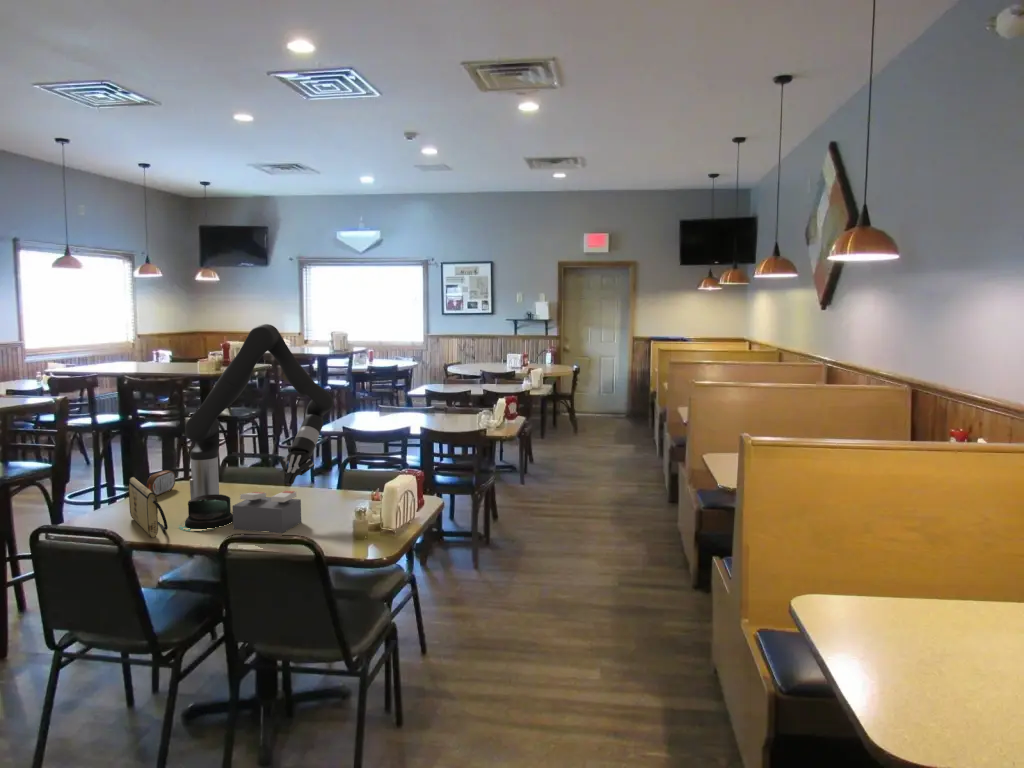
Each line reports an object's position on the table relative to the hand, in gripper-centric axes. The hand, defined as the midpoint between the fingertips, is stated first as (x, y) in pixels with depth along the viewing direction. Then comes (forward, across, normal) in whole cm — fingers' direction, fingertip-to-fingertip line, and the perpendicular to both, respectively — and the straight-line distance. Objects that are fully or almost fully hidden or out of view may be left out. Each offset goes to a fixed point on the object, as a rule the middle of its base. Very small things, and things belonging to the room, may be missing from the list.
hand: (287, 484), depth 234 cm
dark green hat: (+14, -26, +6) cm, 31 cm away
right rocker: (+4, 0, 0) cm, 4 cm away
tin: (-6, -69, +26) cm, 74 cm away
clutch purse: (+20, -43, 0) cm, 47 cm away
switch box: (+13, -5, +7) cm, 15 cm away
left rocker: (+6, -10, -1) cm, 12 cm away
